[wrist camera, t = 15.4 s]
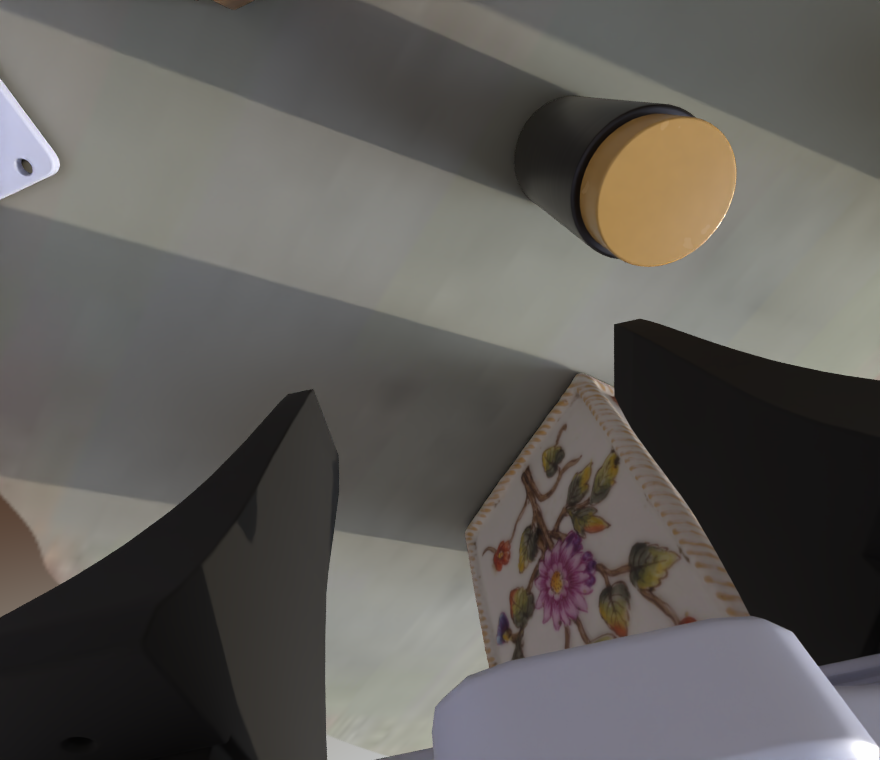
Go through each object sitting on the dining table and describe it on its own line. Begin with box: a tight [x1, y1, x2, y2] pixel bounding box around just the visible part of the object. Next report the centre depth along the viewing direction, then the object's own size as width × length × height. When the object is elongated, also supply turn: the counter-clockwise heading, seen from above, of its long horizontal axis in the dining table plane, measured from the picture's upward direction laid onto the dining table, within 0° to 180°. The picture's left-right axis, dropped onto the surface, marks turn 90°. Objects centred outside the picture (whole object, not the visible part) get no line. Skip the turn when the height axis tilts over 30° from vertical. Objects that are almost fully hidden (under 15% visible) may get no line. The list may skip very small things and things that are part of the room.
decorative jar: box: [465, 373, 750, 668], centre depth 20 cm, size 12×12×18 cm
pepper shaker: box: [514, 96, 736, 267], centre depth 15 cm, size 4×4×8 cm
